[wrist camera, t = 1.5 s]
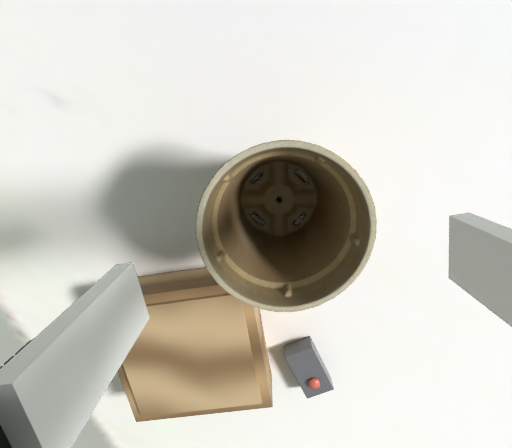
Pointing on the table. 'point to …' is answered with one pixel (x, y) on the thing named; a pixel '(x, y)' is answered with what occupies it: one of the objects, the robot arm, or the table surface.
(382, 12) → the table surface
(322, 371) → the clicker
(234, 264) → the flower pot
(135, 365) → the plinth
